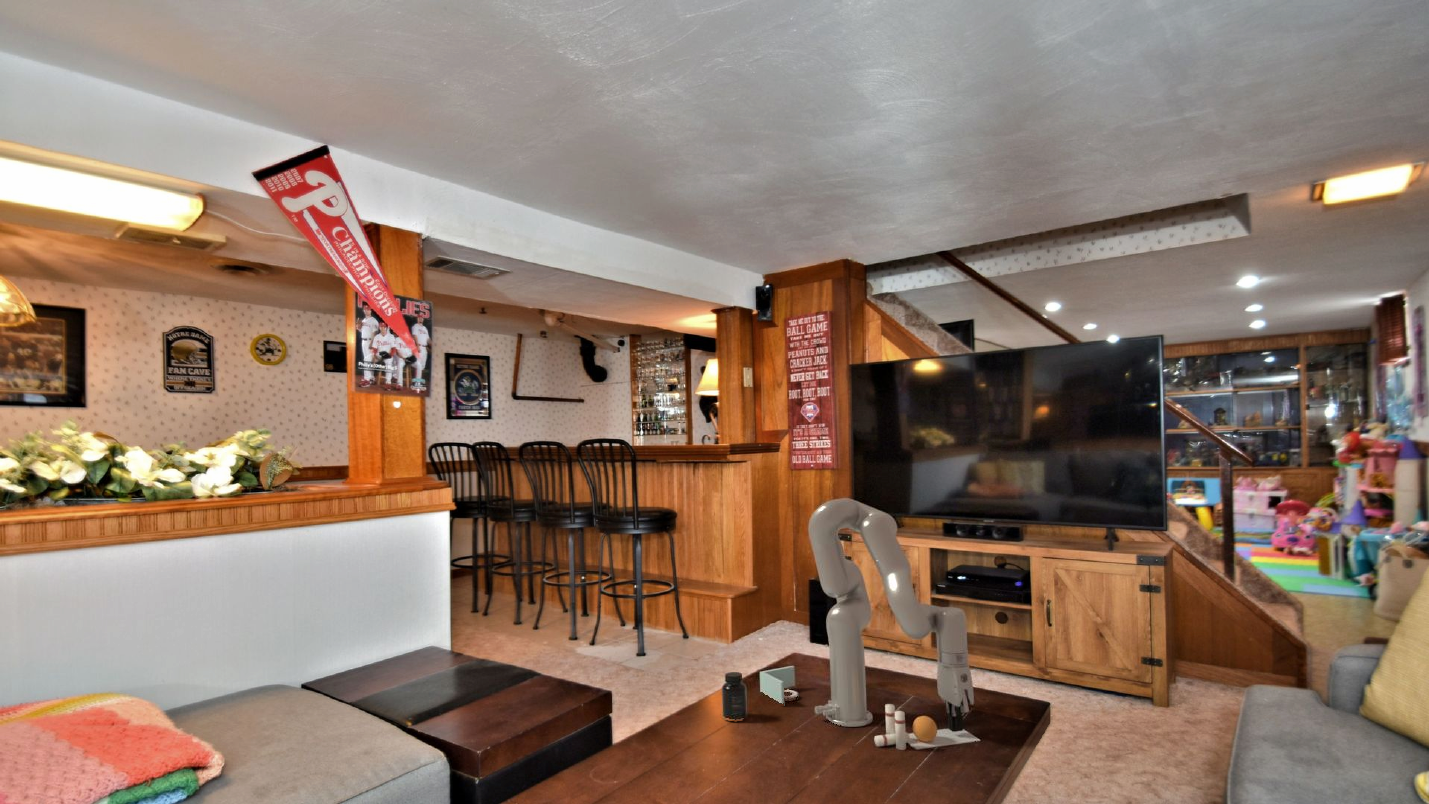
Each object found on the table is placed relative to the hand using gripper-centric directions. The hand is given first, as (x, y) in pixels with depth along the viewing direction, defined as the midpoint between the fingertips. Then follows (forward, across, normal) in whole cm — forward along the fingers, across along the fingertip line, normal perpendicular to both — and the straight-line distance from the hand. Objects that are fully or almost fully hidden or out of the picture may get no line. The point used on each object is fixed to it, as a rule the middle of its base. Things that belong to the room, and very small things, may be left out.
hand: (955, 729), depth 182 cm
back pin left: (+2, +2, +17) cm, 17 cm away
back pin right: (+2, -2, +17) cm, 17 cm away
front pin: (0, 0, +14) cm, 14 cm away
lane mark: (+2, 0, +5) cm, 5 cm away
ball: (-2, -1, +9) cm, 9 cm away
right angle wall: (+2, +41, +31) cm, 51 cm away
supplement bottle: (+2, +29, +51) cm, 59 cm away
